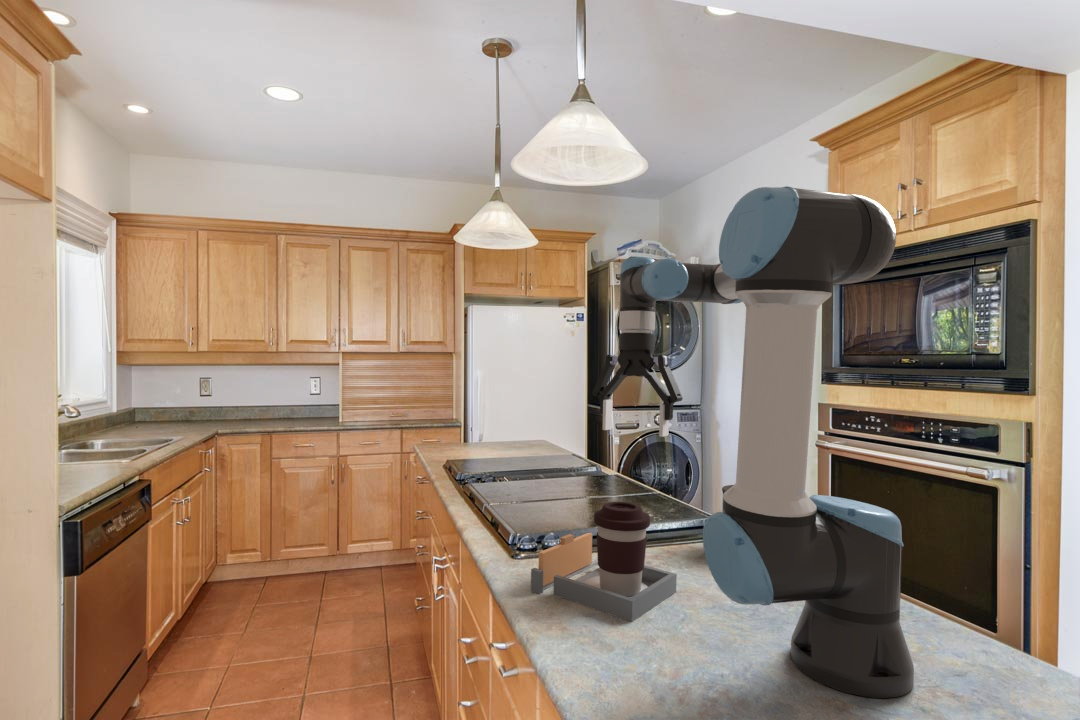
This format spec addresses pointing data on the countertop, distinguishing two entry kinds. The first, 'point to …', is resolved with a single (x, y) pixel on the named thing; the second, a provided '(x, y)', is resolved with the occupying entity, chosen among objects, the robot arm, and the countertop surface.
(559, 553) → the lid panel
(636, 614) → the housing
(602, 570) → the coffee cup
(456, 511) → the countertop surface
